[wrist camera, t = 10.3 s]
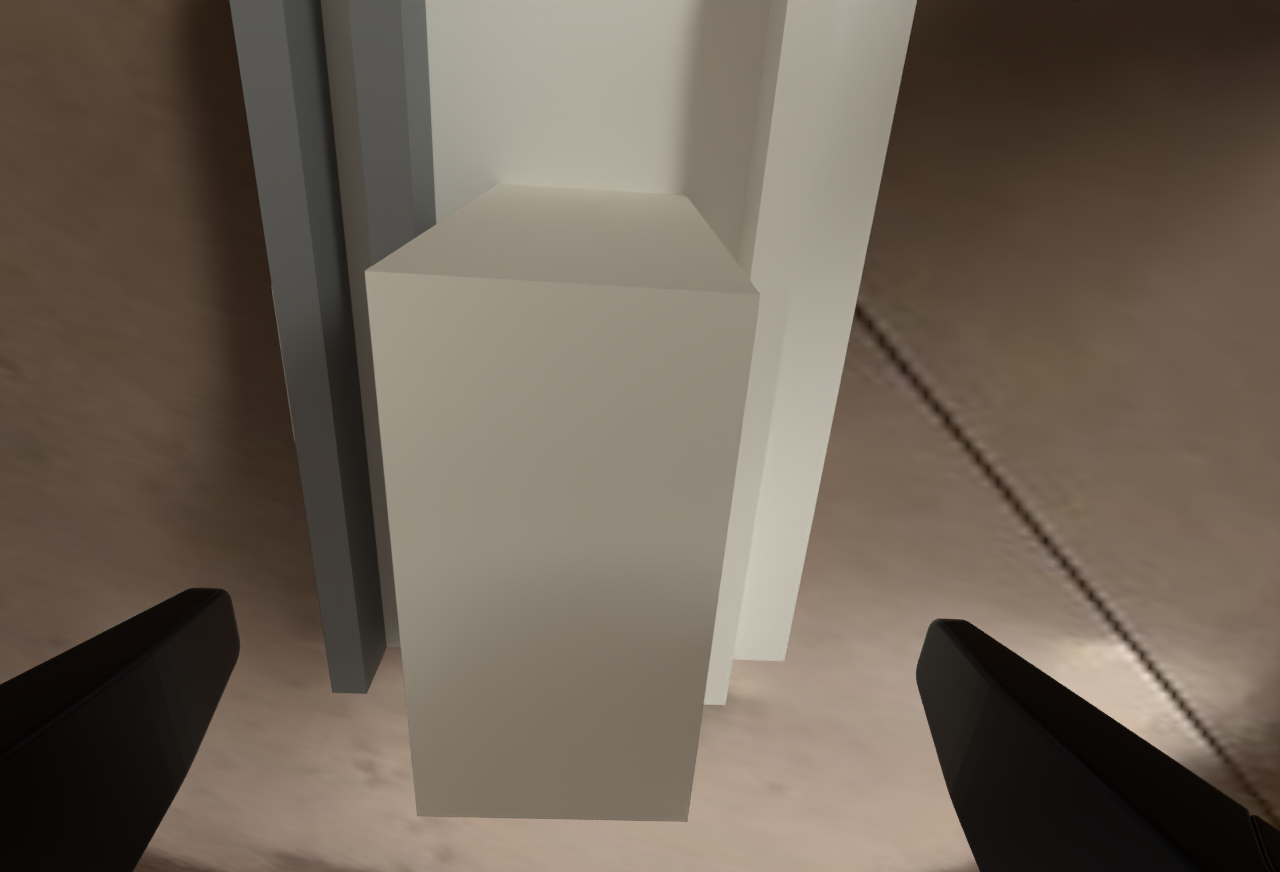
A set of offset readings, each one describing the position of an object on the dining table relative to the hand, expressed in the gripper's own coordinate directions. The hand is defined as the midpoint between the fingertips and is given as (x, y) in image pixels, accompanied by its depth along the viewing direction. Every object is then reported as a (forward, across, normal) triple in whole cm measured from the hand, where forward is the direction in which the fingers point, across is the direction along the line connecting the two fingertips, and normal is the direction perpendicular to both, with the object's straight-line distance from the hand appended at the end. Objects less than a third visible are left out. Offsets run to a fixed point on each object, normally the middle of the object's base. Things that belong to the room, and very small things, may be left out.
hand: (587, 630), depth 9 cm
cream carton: (+11, 0, 0) cm, 11 cm away
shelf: (+12, 0, 0) cm, 12 cm away
